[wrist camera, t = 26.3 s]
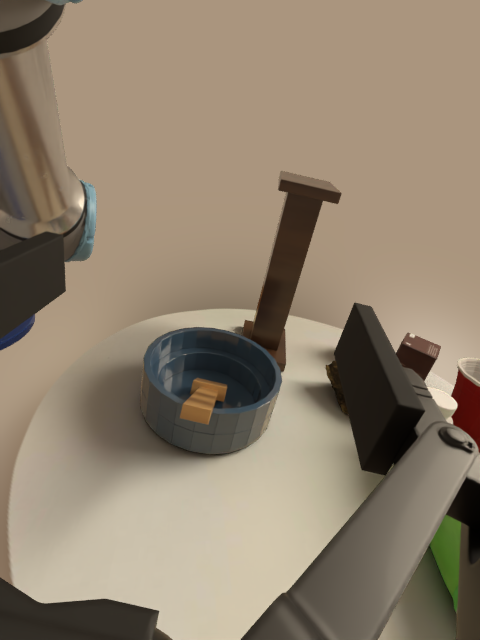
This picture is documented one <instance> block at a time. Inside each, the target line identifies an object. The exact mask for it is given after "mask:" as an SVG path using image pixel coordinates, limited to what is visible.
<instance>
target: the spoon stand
mask: <svg viewBox="0 0 480 640" xmlns="http://www.w3.org/2000/svg"><path fill="white" fill-rule="evenodd" d="M278 190H279V191H284V192H286V196H285V200H284V204H283V207H282V212H281V216H280V220H279V223H278V227H277V231H276V235H275V239H274V243H273V247H272V251H271V256H270V259H269V263H268V267H267V271H266V275H265V278H264V282H263V286H262V290H261V294H260V298H259V302H258V306H257V310H256V314H255V318H254V322H252V321H248V320H245V322H244V327H243V332H242V336H244V337H246V338H248V339H250V340H252V341H254V342H256V343H257V344H258V345H260V346H261V347H263V348H264V349H265V350H267V351H268V352H269V354H270V355H271V356H272V357H273V358H274V359H275V360H276V362H277V364H278V366H279V368H280V370H281V371H282V372H283V371H284V369H285V366H286V347H285V329H284V327H285V324H286V320H287V317H288V314H289V310H290V307H291V304H292V301H293V297H294V294H295V291H296V287H297V284H298V280H299V278H300V274H301V271H302V268H303V264H304V261H305V258H306V255H307V251H308V248H309V245H310V242H311V238H312V234H313V232H314V228H315V225H316V222H317V218H318V215H319V212H320V209H321V205H322V202H323V201H327V202H331V203H336V204H338V203H339V200H340V196H341V192H340V191H339V190H338V189H337V188H335V187H334V186H333V185H332V184H331V183H330V182H327V181H323V180H319V179H314V178H310V177H306V176H301V175H297V174H293V173H289V172H283V171H281V172H280V177H279V186H278Z"/></svg>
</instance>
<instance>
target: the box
mask: <svg viewBox="0 0 480 640" xmlns="http://www.w3.org/2000/svg"><path fill="white" fill-rule="evenodd" d="M440 348H441V346H439V345H437V344H434V343H432V342H430V341H427V340H425V339H422V338H420V337H418V336H415V335H413V334H410V333H407V334H406V336H405V338H404V339H403V341H402V343H401V345H400V347H399V349H398V350H397V352H396V355H397V357H398V359H399V361H400V363H401V365H402V367H405V368H409V369H413V370H414V371H415V372H416V373H417V374H418V375H419V376H420V377H421V378H422V379H423V381H425V379H426V377H427V375H428V373H429V372H430V370H431V368H432V366H433V364H434V363H435V361H436V359H437V357H438V355H439V351H440Z"/></svg>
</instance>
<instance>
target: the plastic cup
mask: <svg viewBox="0 0 480 640" xmlns="http://www.w3.org/2000/svg"><path fill="white" fill-rule="evenodd" d="M451 397H452V398H454V400H455V401H456V402H457V409H456V410H455V412H454V414H453V415H452V416H451V417H452V420H453V425H455V426H457V427H459V428H460V429H462V430H463V431H464V432H466V433H467V434H468V435H469V436H470V437H471V438H472V439H473V440H474V441H475V442H476V444H477V446H478V448H479V453H480V359H476V358H462V359H459V360H458V376H457V379H456V384H455V387H454V389H453V392H452V395H451Z"/></svg>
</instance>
